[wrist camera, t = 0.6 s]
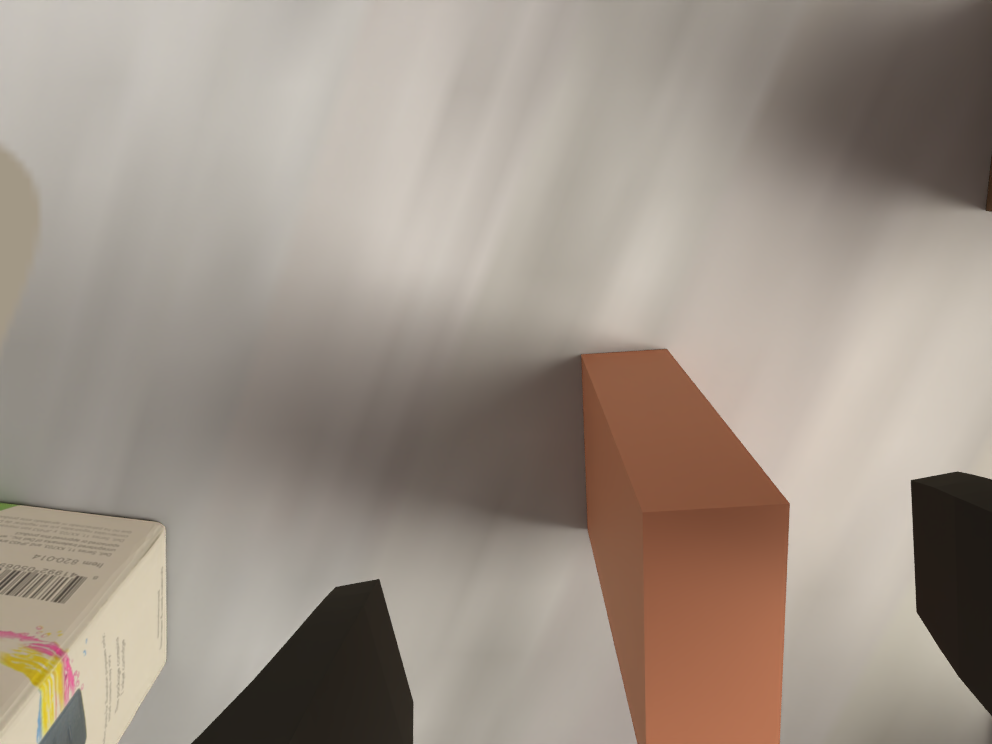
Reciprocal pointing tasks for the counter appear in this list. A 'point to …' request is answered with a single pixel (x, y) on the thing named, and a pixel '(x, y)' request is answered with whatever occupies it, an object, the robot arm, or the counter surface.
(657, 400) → the domino
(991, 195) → the domino
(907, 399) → the counter surface
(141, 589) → the ink box
